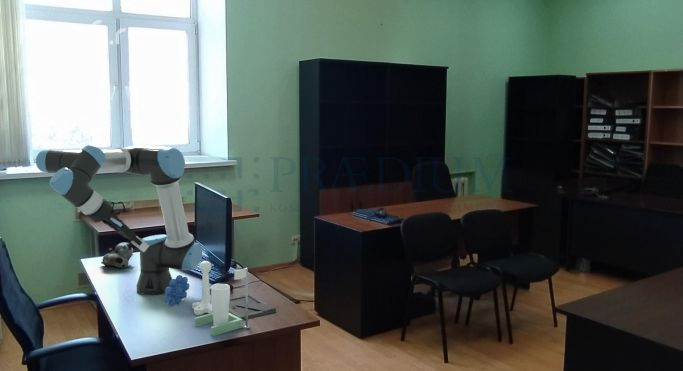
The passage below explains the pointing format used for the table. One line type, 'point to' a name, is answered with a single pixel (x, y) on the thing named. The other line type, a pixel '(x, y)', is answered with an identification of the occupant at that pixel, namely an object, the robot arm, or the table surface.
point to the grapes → (176, 290)
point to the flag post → (244, 274)
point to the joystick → (204, 291)
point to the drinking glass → (220, 303)
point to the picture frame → (249, 306)
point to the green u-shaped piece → (231, 325)
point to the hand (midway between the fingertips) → (145, 248)
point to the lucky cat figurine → (119, 255)
